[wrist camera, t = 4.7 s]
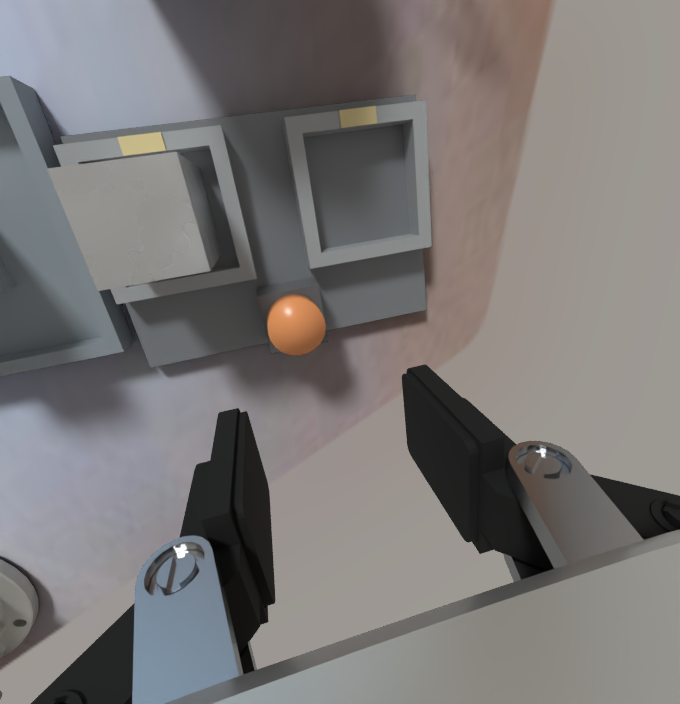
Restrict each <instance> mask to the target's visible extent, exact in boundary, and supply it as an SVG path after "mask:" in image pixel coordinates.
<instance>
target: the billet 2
mask: <svg viewBox="0 0 680 704" xmlns="http://www.w3.org/2000/svg"><path fill="white" fill-rule="evenodd" d="M47 170H48V173H49V175H50V178H51V180H52V182H53V185H54V187H55V190H56V192H57V194H58V197H59V199H60V202H61V204H62V206H63V209H64V211H65V214H66V216H67V218H68V221H69V223H70V226H71V228H72V230H73V233H74V235H75V238H76V240H77V242H78V245H79V247H80V250H81V252H82V254H83V257H84V259H85V262H86V264H87V266H88V269H89V271H90V274H91V276H92V278H93V281H94V283H95V286H96V288H97V290H98V291H101V290H107V289H113V288H118V287H124V286H129V285H135V284H141V283H146V282H152V281H158V280H163V279H169V278H174V277H180V276H186V275H191V274H197V273H203V272H208V271H211V269H212V268H213V266H214V265H215V263H216V262H217V260H218V259H219V257H220V256H221V254H222V253H223V251H222V247H221V243H220V239H219V235H218V232H217V228H216V224H215V220H214V216H213V213H212V209H211V205H210V201H209V197H208V194H207V190H206V186H205V182H204V179H203V175H202V171H201V169H200V168H199V167H198V166H196V165H195V164H193V163H192V162H190V161H189V160H188V159H186V158H185V157H183V156H182V155H180V154H179V153H178V152H171V153H163V154H156V155H148V156H140V157H132V158H125V159H117V160H109V161H102V162H94V163H86V164H78V165H71V166H63V167H55V168H47Z"/></svg>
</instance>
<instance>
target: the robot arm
mask: <svg viewBox="0 0 680 704" xmlns="http://www.w3.org/2000/svg"><path fill="white" fill-rule="evenodd" d="M402 386H403V397H404V410H405V421H406V434H407V445H408V449H409V452H410V455H411V456H412V458H413V460H414V461H415V463H416V464H417V466H418V467H419V469H420V471H421V472H422V474H423V475H424V477H425V479H426V480H427V482H428V483H429V485H430V486H431V488H432V490H433V491H434V493H435V494H436V496H437V497H438V499H439V500H440V502H441V504H442V505H443V507H444V509H445V510H446V512H447V513H448V515H449V517H450V518H451V520H452V521H453V523H454V525H455V526H456V527H457V529H458V531H459V532H460V534H461V536H462V537H463V539H464V540H465V541H466V542H471V541H472V542H473V544H474V545H475V547H476V548H477V550H478V551H479V553H480V554H481V553H484V552H487V551H490V550H494V549H495V551H498V552H501V553H503V554H504V558H505V561H506V564H507V566H508V568H509V571H510V573H511V576H512V578H513V581H514V582H513V583H510V584H507V585H504V586H501V587H498V588H495V589H492V590H489V591H486V592H483V593H481V594H478V595H475V596H472V597H468V598H466V599H463V600H460V601H457V602H454V603H451V604H448V605H445V606H442V607H439V608H436V609H433V610H430V611H427V612H424V613H422V614H419V615H416V616H412V617H409V618H407V619H404V620H401V621H398V622H395V623H392V624H389V625H386V626H383V627H380V628H377V629H374V630H371V631H368V632H365V633H362V634H360V635H357V636H354V637H351V638H348V639H345V640H342V641H339V642H336V643H334V644H331V645H328V646H325V647H322V648H319V649H316V650H313V651H310V652H308V653H305V654H302V655H299V656H296V657H293V658H290V659H287V660H284V661H281V662H279V663H276V664H273V665H270V666H267V667H264V668H261V669H258V670H257V668H256V664H255V660H254V656H253V652H252V648H251V644H250V640H251V638H252V637H253V635H254V634H255V633H256V631H257V630H258V628H259V627H260V625H261V624H264V623H267V622H268V605H271V604H274V603H275V586H274V568H273V552H272V551H273V550H272V533H271V515H270V497H269V488H268V483H267V479H266V476H265V472H264V469H263V465H262V462H261V458H260V455H259V451H258V448H257V444H256V441H255V437H254V434H253V430H252V427H251V423H250V420H249V416H248V413H247V412H246V411H245V412H241V413H240V410H239V409H238V408H237V409H233V410H228V411H224V412H220V413H219V414H218V419H217V425H216V431H215V437H214V443H213V448H212V454H211V460H210V461H208V462H204V463H200V464H197V465H196V468H195V471H194V475H193V480H192V484H191V489H190V493H189V498H188V502H187V507H186V511H185V516H184V520H183V525H182V530H181V534H180V538H178V539H175V540H172V541H171V542H169V543H167V544H165V545H164V546H162V547H161V548H159V549H158V550H157V551H156V552H155V553H154V554H152V555H151V556H150V558H149V559H148V560H147V561H146V562H145V564H144V565H143V566H142V568H141V570H140V572H139V574H138V576H137V580H136V585H135V603H134V604H133V605H132V606H131V607H130V608H129V609H128V610H127V611H126V612H125V613H124V614H123V615H122V616H121V617H120V618H119V619H118V620H117V621H116V622H115V623H114V624H113V625H112V626H111V627H109V628H108V629H107V630H106V631H105V632H104V633H103V634H102V635H101V636H100V637H99V638H98V639H97V640H96V641H95V642H94V643H93V644H92V645H91V646H90V647H89V648H88V649H87V650H86V651H85V652H84V653H83V654H82V655H81V656H80V657H79V658H77V660H76V661H74V662H73V663H72V664H71V665H70V667H68V668H67V669H66V670H65V671H64V672H63V673H62V674H61V675H60V676H59V677H58V678H57V679H56V680H55V681H54V682H53V683H52V684H51V685H50V686H49V687H48V688H47V689H46V690H44V692H42V693H41V694H40V695H39V696H38V697H37V698H36V699H35V700H34V701H33V702H32V703H31V704H680V496H678V495H674V494H670V493H666V492H661V491H657V490H653V489H648V488H645V487H640V486H636V485H632V484H628V483H624V482H620V481H615V480H611V479H607V478H603V477H599V476H594V475H590V474H589V473H588V472H587V471H586V470H585V468H584V467H583V466H582V465H581V463H580V462H579V461H578V460H577V459H576V458H575V457H574V456H573V455H572V454H571V453H570V452H569V451H567V450H565V449H563V448H562V447H560V446H557V445H554V444H551V443H547V442H542V441H527V442H522V443H519V444H517V445H516V444H515V443H514V442H513V441H512V440H511V439H510V438H508V437H507V436H506V435H505V434H504V433H503V432H502V431H501V430H500V429H499V428H498V427H496V426H495V425H494V424H493V423H492V422H491V421H490V420H489V419H488V418H487V417H485V416H484V415H483V414H482V413H481V412H480V411H479V410H478V409H477V408H476V407H474V406H473V405H472V404H471V403H470V402H469V401H468V400H466V399H465V398H462V397H461V396H460V395H458V394H457V393H456V392H455V391H454V390H453V389H452V388H451V387H450V386H449V385H448V384H447V383H445V382H444V381H443V380H442V379H441V378H440V377H439V376H438V375H437V374H436V373H435V372H433V371H432V370H431V369H430V368H429V367H428V366H427V365H421V366H417V367H412V368H408V369H407V374H403V375H402ZM38 610H39V605H38V597H37V594H36V591H35V589H34V587H33V585H32V584H31V583H30V581H29V580H28V579H27V577H26V576H24V575H23V574H22V573H21V572H20V571H19V570H18V569H16V568H15V567H13V566H12V565H10V564H8V563H7V562H5V561H3V560H1V559H0V658H2V657H3V656H5V655H7V654H9V653H10V652H11V651H13V650H14V649H15V648H16V647H17V646H19V645H20V644H21V643H22V641H23V640H24V639H25V638H26V636H27V635H28V633H29V631H30V630H31V628H32V626H33V624H34V622H35V620H36V617H37V613H38ZM1 697H2V692H1V691H0V699H1Z"/></svg>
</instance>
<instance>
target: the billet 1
mask: <svg viewBox="0 0 680 704" xmlns="http://www.w3.org/2000/svg"><path fill="white" fill-rule="evenodd" d="M14 287H16V285H15V283H14V281H13V279H12V277H11V275H10V273H9V271H8V269H7V267H6V265H5V263H4V261H3V259H2V257H1V255H0V292H2V291H5V290H8V289H11V288H14Z"/></svg>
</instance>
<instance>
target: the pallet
mask: <svg viewBox="0 0 680 704" xmlns="http://www.w3.org/2000/svg"><path fill="white" fill-rule="evenodd" d="M60 138H61V140H62V143H63V144H60V145H53V147H54V150H55V152H56V155H57V157H58V160H59V162H60V165H61V167H63V166H71V165H78V164H86V163H94V162H102V161H109V160H117V159H125V158H132V157H140V156H148V155H156V154H163V153H171V152H178V153H179V154H180V155H182V156H183V157H185V158H186V159H188V160H189V161H190V162H192V163H193V164H195V165H196V166H198V167H199V168H200V169H201V171H202V175H203V179H204V182H205V186H206V190H207V194H208V197H209V201H210V205H211V209H212V213H213V216H214V220H215V224H216V228H217V232H218V235H219V239H220V243H221V247H222V251H223V253H222V254H221V256H220V257H219V259H218V260H217V262H216V263H215V265H214V266H213V268H212V269H211V271H208V272H203V273H197V274H191V275H186V276H180V277H174V278H169V279H163V280H158V281H152V282H146V283H141V284H135V285H129V286H124V287H118V288H113V289H111V292H112V294H113V297H114V299H115V302H116V304H122V303H125V304H126V307H127V309H128V312H129V314H130V317H131V319H132V322H133V324H134V327H135V330H136V332H137V335H138V337H139V340H140V342H141V345H142V348H143V350H144V353H145V355H146V358H147V360H148V363H149V365H150V368H152V367H156V366H161V365H166V364H171V363H175V362H180V361H185V360H190V359H194V358H199V357H204V356H209V355H213V354H218V353H223V352H228V351H232V350H237V349H242V348H247V347H251V346H256V345H261V344H266V343H268V345H269V349H270V353H271V354H272V353H276V352H281V351H280V350H278V349H277V348H276V347H275V346H274V345H273V343H272V342H271V340H270V338H269V335H268V328H267V314H268V311H269V309H270V307H271V305H272V304H273V303H274V302H275V301H276V300H277V299H279V298H280V297H282V296H284V295H288V294H301V295H304V296H307V297H308V298H310V299H311V300H312V301H313V302H314V303H315V304H316V305H317V307H318V308H319V310H320V311H321V313H322V315H323V317H324V319H325V325H326V330H325V335H324V337H323V340H322V341H321V343H323V342H327V341H328V338H327V332H326V331H328V330H332V329H337V328H342V327H347V326H351V325H356V324H361V323H366V322H370V321H375V320H380V319H385V318H389V317H394V316H399V315H404V314H408V313H413V312H418V311H423V310H426V294H425V273H424V253H423V248H427V247H432V242H431V217H430V191H429V166H428V140H427V114H426V100H423V101H416V94H415V95H407V96H399V97H390V98H382V99H373V100H365V101H356V102H348V103H339V104H331V105H322V106H314V107H306V108H297V109H289V110H280V111H272V112H263V113H255V114H246V115H238V116H229V117H221V118H212V119H204V120H196V121H187V122H179V123H170V124H162V125H153V126H145V127H136V128H128V129H119V130H111V131H102V132H94V133H86V134H77V135H69V136H60Z"/></svg>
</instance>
